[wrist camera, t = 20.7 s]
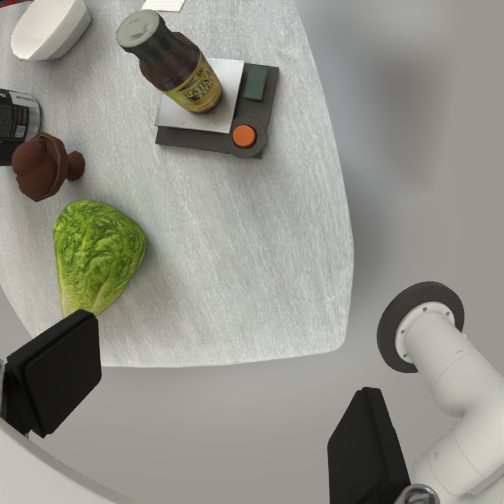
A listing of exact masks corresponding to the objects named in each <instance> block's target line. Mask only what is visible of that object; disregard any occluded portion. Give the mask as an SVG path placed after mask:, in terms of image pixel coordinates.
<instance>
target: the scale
mask: <svg viewBox="0 0 504 504" xmlns="http://www.w3.org/2000/svg"><path fill="white" fill-rule="evenodd" d="M250 66H259V67H267V68H268V70H267V75H266V80H265V84H264V89H263V94H262V99H261V100H258V99H251V98H244V93H245V88H246V84H247V79H248V75H249V70H250ZM278 75H279V68H278V67H271V66H264V65H257V64H248V63H245V67H244V72H243V76H242V80H241V85H240V89H239V94H238V98H237V103H236V108H235V112H234V117H233V122H232V127H231V132H230V134H224V133H217V132H209V131H201V130H192V129H183V128H173V127H161V126H159V127H158V132H157V137H156V142H155V144H159V145H168V146H177V147H185V148H193V149H200V150H207V151H214V152H221V153H227V154H233V155H234V156H236V157H239V158H245V159H249V158H256V159H262V154H263V149H264V148H265V147H266V142H267V129H268V124H269V119H270V114H271V109H272V105H273V100H274V95H275V90H276V85H277V80H278ZM241 125H246V126H249V127H250V128H252V130H253V131H254V133H255V141H254V143H253V144H252V145H250V146H248V147H241V146H239V145H238V144H236V143H235V142H234V140H233V132H234V130H235V129H236V128H237V127H238V126H241Z"/></svg>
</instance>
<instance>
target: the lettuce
mask: <svg viewBox="0 0 504 504" xmlns="http://www.w3.org/2000/svg"><path fill="white" fill-rule="evenodd" d="M53 239H54V248H55V258H56V269H57V275H58V281H59V298H60V303H61V309H62V318H63V319H64V318H66V317H67V316H69V315H70V314H72V313H73V312H75V311H76V310H78V309H80V308H81V309H84V310H86V311H89V312H91V313H93V314H94V315H95V317H96V316H97V315H99V314H100V313H101V312H103V311H104V310H105V309H106V308H107V307H108V306H109V305H111V304H112V303H113V302H114V301H115V300H116V299H117V298H118V296H119V295H120V294H121V293H122V292H123V290H124V289H125V287H126V285H127V283H128V282H129V280H130V279H131V278H132V276H133V275H134V274H135V272H136V271H137V270H138V268H139V267H140V265H141V263H142V261H143V259H144V256H145V251H146V247H147V243H148V242H147V240H146V238H145V235H144V233H143V231H142V230H141V228H140V227H139V225H138V224H137V223H135V222H134V221H133V220H132V219H130V218H129V217H128V216H126V215H125V214H124V213H122V212H121V211H119V210H118V209H116V208H114V207H112V206H110V205H108V204H104V203H99V202H95V201H89V200H79V201H76V202H73V203H71V204H69V205H67V206H66V207H65V209H64V210H63V212H62V213H61V215H60V216H59V218H58V220H57V222H56V224H55V226H54V227H53Z"/></svg>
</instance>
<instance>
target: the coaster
mask: <svg viewBox="0 0 504 504" xmlns="http://www.w3.org/2000/svg"><path fill="white" fill-rule="evenodd" d="M184 1H185V0H146V2H145V4H144V5H143V7H142V9H141V10H143V9H151V10H162V11H179V10H180V8H181V6H182V4H183V3H184Z"/></svg>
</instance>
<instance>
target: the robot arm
mask: <svg viewBox="0 0 504 504" xmlns="http://www.w3.org/2000/svg"><path fill="white" fill-rule="evenodd" d="M395 348H396V350H397V352H398V354H399V356H400V357H401V358H402V359H403V360H404V361H406V362H409V363H413V364H414V365H415V366H416V368H417V370H418V372H419V373H420V375H421V377H422V379H423V380H424V382H425V384H426V386H427V388H428V389H429V391H430V393H431V395H432V397H433V398H434V400H435V402H436V404H437V406H438V407H439V408H440V409H441V410H442V411H443V412H444V413H446V414H448V415H450V416H454V417H461V419H460V420H459V421H458V422H457V423H456V424H455V425H454V427H453V428H452V429H451V430H450V431H448V432H447V433H446V434H445V435H444V436H442V437H441V438H440V439H439V440H438V441H437V442H435V443H434V444H433V445H432V446H431V447H429V448H428V449H427V450H426V451H425V452H423V453H422V454H421V455H420V456H419V457H418V458H417V459H416V461H415V462H414V464H413V466H412V470H411V477H412V482H413V484H412V485H411V483H410V479H409V475H408V471H407V468H406V464H405V461H404V458H403V454H402V451H401V447H400V444H399V441H398V438H397V434H396V431H395V429H394V427H393V426H392V422H391V419H390V417H389V413H388V410H387V407H386V404H385V401H384V398H383V395H382V392H381V390H380V389H378V388H370V387H363V388H362V390H358V391H357V392H356V393H355V395H354V397H353V399H352V401H351V403H350V404H349V406H348V408H347V410H346V412H345V413H344V415H343V417H342V419H341V420H340V422H339V424H338V426H337V427H336V429H335V431H334V432H333V434H332V436H331V438H330V439H329V442H328V446H327V450H328V468H329V493H330V504H504V474H503V475H502V476H500V478H498V479H497V480H496V481H494V482H493V483H492V484H491V485H489V486H488V487H487V488H485V489H484V490H483V491H481V492H480V493H479V494H477V495H472V494H470V493H469V492H468V491H469V490H471V489H472V488H473V487H475V486H476V485H477V484H479V483H480V482H481V481H482V480H484V479H485V478H486V477H487V476H489V475H491V474H492V473H493V472H494V471H495V470H496V469H497V468H499V467H500V466H501V465H502V464H503V463H504V378H503V377H502V376H501V375H500V374H499V373H498V372H497V371H496V370H495V369H494V368H493V367H492V366H491V365H490V364H489V363H488V362H487V361H486V359H485V358H484V357H483V356H482V355H481V354H480V353H479V352H478V351H477V349H476V348H475V347H474V346H473V345H472V344H471V343H470V342H469V341H468V340H467V339H466V335H465V334H462V333H461V332H460V331H459V330H458V329H457V328H456V327H455V320H454V316H453V314H452V312H451V310H450V309H449V308H448V307H447V306H446V305H444V304H442V303H440V302H427V303H423V304H421V305H419V306H417V307H415V308H414V309H412V310H411V311H410V312H409V313H408V314H407V315H406V316H405V317H404V318H403V320H402V321H401V323H400V324H399V326H398V329H397V331H396V335H395ZM7 361H8V363H6V364H4V362H3V361H2V360H1V359H0V504H143V503H140V502H138V501H135V500H133V499H130V498H128V497H126V496H124V495H122V494H119V493H117V492H115V491H113V490H111V489H109V488H107V487H105V486H103V485H101V484H99V483H97V482H95V481H93V480H92V479H90V478H88V477H86V476H84V475H82V474H81V473H79V472H77V471H75V470H73V469H72V468H70V467H69V466H67V465H66V464H64V463H62V462H61V461H59V460H57V459H56V458H55V457H53V456H52V455H50V454H48V453H47V452H46V451H44V450H43V449H41V448H40V447H38V446H37V445H36V444H34V443H33V442H32V441H30V440H29V434H28V433H29V432H30V430H33V432H35V433H36V434H37V435H39V436H40V437H42V438H44V437H45V436H46V435H47V434H52V433H53V432H54V431H55V430H56V429H57V428H58V427H59V425H60V424H61V423H62V422H63V421H64V420H65V419H66V418H67V416H69V414H70V413H71V412H72V411H73V410H74V409H75V408H76V407H77V406H78V405H79V404H80V403H81V401H82V400H83V399H84V398H85V397H86V396H87V395H88V394H89V393H90V392H91V391H92V390H93V389H94V387H95V386H96V385H97V384H98V383H99V382H100V380H101V376H102V372H101V361H100V347H99V328H98V320H97V319H96V317H95V315H94V314H93V313H91V312H89V311H86V310H84V309H81V308H80V309H78V310H76V311H75V312H73V313H72V314H70V315H69V316H67V317H66V318H64V319H63V320H61V321H59V322H58V323H56V324H55V325H53V326H52V327H50V328H49V329H47V330H46V331H44V332H43V333H41V334H40V335H38V336H37V337H35V338H34V339H32V340H31V341H30V342H28V343H27V344H25V345H24V346H22V347H21V348H19V349H18V350H16V351H15V352H14V353H12V354H11V355H9V356H8V357H7Z"/></svg>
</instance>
